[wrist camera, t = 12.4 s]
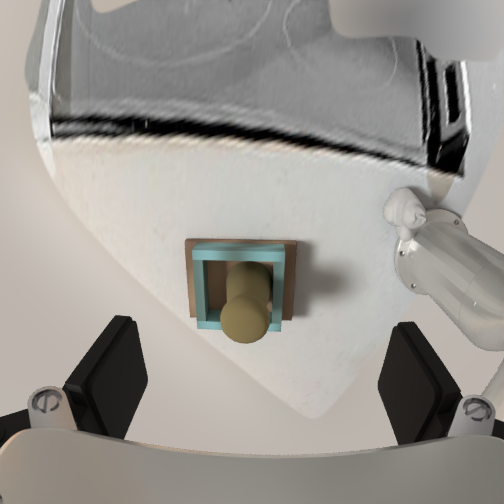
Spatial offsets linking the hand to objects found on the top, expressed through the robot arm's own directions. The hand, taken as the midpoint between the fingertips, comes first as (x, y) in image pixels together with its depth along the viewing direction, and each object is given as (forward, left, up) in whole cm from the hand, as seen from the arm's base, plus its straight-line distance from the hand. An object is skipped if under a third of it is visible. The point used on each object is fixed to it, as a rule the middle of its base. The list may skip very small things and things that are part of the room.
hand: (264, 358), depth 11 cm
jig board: (+3, +11, -30) cm, 32 cm away
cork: (+2, +10, -29) cm, 31 cm away
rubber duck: (-18, 0, -31) cm, 35 cm away
